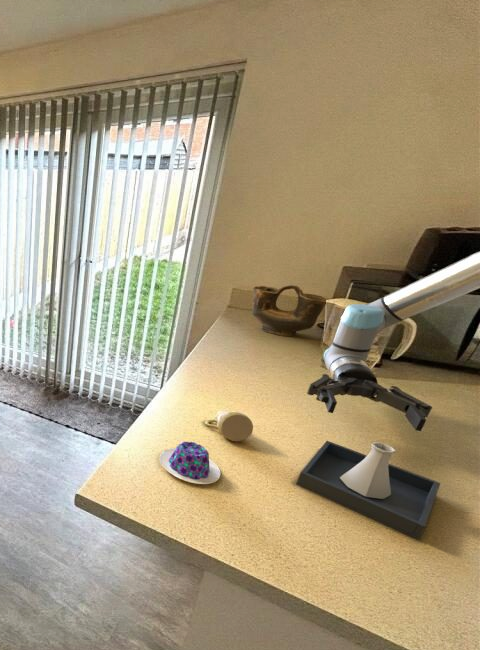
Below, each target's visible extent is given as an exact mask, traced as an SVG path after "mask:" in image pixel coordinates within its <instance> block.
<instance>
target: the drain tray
mask: <svg viewBox="0 0 480 650" xmlns="http://www.w3.org/2000/svg"><path fill="white" fill-rule="evenodd" d="M367 455H368V454H364V453H361V452H359V451H356V450H354V449H351V448H348V447H346V446H343V445H341V444H337V443H334V442H333V441H332V442H331V441H329V440H326V441H325V442H324V443H323V444H322V446H321V447H320V448H319V449H318V451H316V453H315V454H314V455H313V457H312V458H311V459H310V460H309V461H308V462H307V464H306V465H305V466H304V467H303V469H302V470H301V471H300V473H299V475H298V478H297V480H296V483H295V485H296V486H299V487H300V488H303V489H305V490H307V491H309V492H312V493H314V494H316V495H318V496H320V497H321V498H324V499H326V500H329V501H331V502H333V503H334V504H338V505H339V506H342V507H344V508H346V509H349V510H350V511H352V512H355V513H357V514H359V515H361V516H364V517H366V518H368V519H369V520H372V521H374V522H376V523H379V524H381V525H383V526H385V527H387V528H389V529H392V530H394V531H396V532H398V533H401V534H403V535H405V536H407V537H409V538H411V539H414V540H416V541H418V540H419V538H420V536H421V535H422V533H423V532H424V530H425V529H426V525H427V523H428V520H429V517H430V515H431V512H432V509H433V506H434V503H435V500H436V498H437V494H438V491H439V488H440V486H441V482H439V481H437V480H434V479H432V478H429V477H426V476H423V475H420V474H417V473H415V472H413V471H410V470H408V469H404V468H402V467H399V466H397V465H393V464H392V463H389V465H388V470H389V481H390V488H391V495H390V496H388V497H386V498H384V499H379V498H372V497H365V496H363V495H362V494H360V493H358V492H356V491H354V490H352V489H351V488H349V487H347V485H346V484H345V483H344V482H343V481H342V480H341V479H340V477H341V476H342V475H344V474H345V473H346V472H348V471H349V470H351V469H352V468H353V467H355V466H356V465H357V464H359V463H360V462H361V461H362V460H364V459H365V457H366V456H367Z"/></svg>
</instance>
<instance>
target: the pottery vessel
mask: <svg viewBox="0 0 480 650" xmlns="http://www.w3.org/2000/svg"><path fill="white" fill-rule="evenodd" d="M287 290H294V291H295V293H296V295H297V304H296V308H295V309H293V310H284V309H281V308H279V307H278V306H277V301H278V298H279V297H280V295H281V294H282V293H283V292H285V291H287ZM252 291H253V293H254V298H253V307H252V312H251V314H252V316H253V318H254V319H255V320H256V321H258V322H259V323H260V324H261V325H262V327H261V330H262V331H264V332H265V333H267V334H270V335H275V336H281V337H290V338H291V337H294V336H295V335H297V332H301V331H304V330H305V331H306V330H308V329H312V328H313V327H314V325H315V324H316V323H317V320H318V318H319V316H320V314H321V313H322V312H323V310H324V308H325V307H326V305H327V304H326V300H329V299H328V298H326V297H325V296H322V295H318V294H315V293H313V294H312V293H304V292H303V290H302V289H301V288H300V286H298V285H294V284H290V285H285V286H282V287H281V288H276V287H273V286H272V287H271V286H265V285H259V286H254V287H253V288H252Z"/></svg>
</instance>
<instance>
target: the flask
mask: <svg viewBox="0 0 480 650" xmlns="http://www.w3.org/2000/svg"><path fill="white" fill-rule="evenodd" d="M370 446H371V449H370V451H369V453H368V454H366V455H367V456H366V457H365V459H364V460H362V461H361V462H360V463H359V464H357V465H356V466H355V467H353V468H352V469H351V470H349V471H348V472H346V473H345V474H344V475H342V476H341V477H340V479H341V480H342V481H343V482H344V483H345V484H346V485H347V487H349V488H351V489H352V490H354V491H356V492H358V493H360V494H362V495H363V496H365V497H372V498H379V499H384V498H386V497H388V496H390V495H391V488H390V481H389V470H388V465H389V464H390V458H392V454H395V453H396V452H397V450H396V449H395V448H394V447H393V446H391V445H388V444H387V443H384V442H377V441H374V442H372V443H371V444H370Z"/></svg>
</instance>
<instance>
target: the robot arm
mask: <svg viewBox="0 0 480 650" xmlns="http://www.w3.org/2000/svg"><path fill="white" fill-rule="evenodd" d="M476 290H480V250H479V251H476V252H475V253H473V254H470V255H469V256H466V257H465V258H462V259H460V260H458V261H456V262H453V263H452V264H449V265H448V266H446V267H444V268H442V269H439V270H437V271H435V272H433V273H430V274H429V275H427V276H424V277H422V278H420V279H418V280H416V281H413V282H412V283H410V284H408V285H406V286H404V287H402V288H399V289H397V290H395V291H393V292H391V293H389V294H386V295H385V296H384V297H381V298H379V299H377V300H374V301H373V302H369V303H366V304H361V303H357V304H350V305H348V306H346V307H345V309H344V312H343V313H342V315H341V317H340V321H339V324H338V327H337V329H336V333H335V335H334V338H333V341H332V343H331V345H330V347H328V348H327V349H326V350H325V352H323V362H324V363H323V364H324V366H325V367H326V369H327V371H328V372H329V374H330V376H329V374H327V373H322V374H321V376H320V378H319V379H317V380H314V381H313V382H311V383H310V384H309V386H308V389H307V392H306V394H307V395H309V396H314V395H315V396H316V397H315V400H316V401H318V402H321V403H324V404H325V408H326V410H327V413H330V414H334V412H335V408H336V406H337V404H338V402H337V399H336V398H335V396H345V395H347V396H351V397H362V398H367V399H369V400H371V401H373V402H376V403H382V404H384V405H386V406H389V407H391V408H393V409H395V410H397V411H400V412H402V413H404V414H405V415H404V417H405V418H406V419H407V421H408V422H409V423H410V425H411V426H412V428H413V430H414V431H417V432H421V431H422V429H423V427H424V425H425V424H426V422H427V418H428V417H429V415H430V413H431V411H432V409H433V406H432V405H430V404H427V403H426V402H424V401H422V400H420V399H418V398H416V397H414V396H412V395H411V394H409V393H407V392H405V391H403V390H402V389H401V388H400V387H399V386H395V385H391V386H390V388H387V387H384V386H382V385H381V384H379V383H378V379H377V377H376V375H375V374H374V372H373V371H372V369H371V367H370V366H369V365H368V363H367V362H366V361H367V359H368V357H369V354H370V352H371V349H372V347H373V344H374V342H375V340H376V337H377V335H378V334H380V333H381V332H382V331H383V330H384V329H387V328H390V326H391V327H392V326H394V325H397V324H398V323H401V322H403V321H405V320H408V319H409V318H412V317H415V316H417V315H419V314H422V313H424V312H426V311H429V310H432V309H435V308H436V307H438V306H440V305H443V304H445V303H448V302H450V301H453V300H455V299H458V298H460V297H462V296H465V295H467V294H469V293H472V292H474V291H476Z"/></svg>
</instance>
